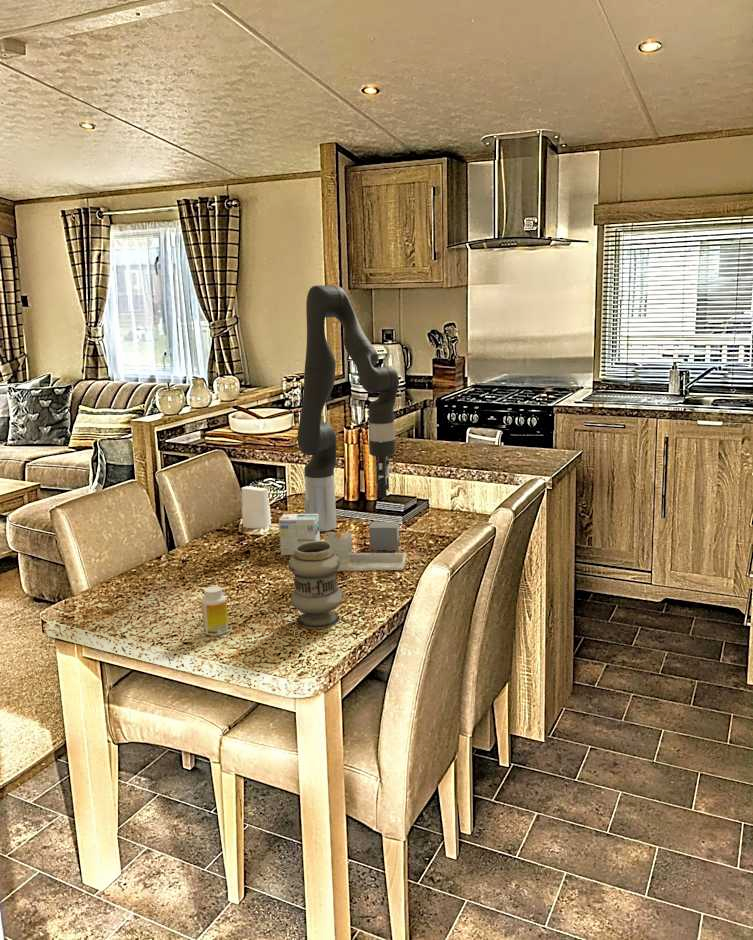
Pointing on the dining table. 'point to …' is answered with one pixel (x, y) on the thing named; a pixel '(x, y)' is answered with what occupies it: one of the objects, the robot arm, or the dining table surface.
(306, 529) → the light bulb box
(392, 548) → the module
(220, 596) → the supplement bottle
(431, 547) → the dining table surface
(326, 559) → the apothecary jar
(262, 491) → the upright white block
